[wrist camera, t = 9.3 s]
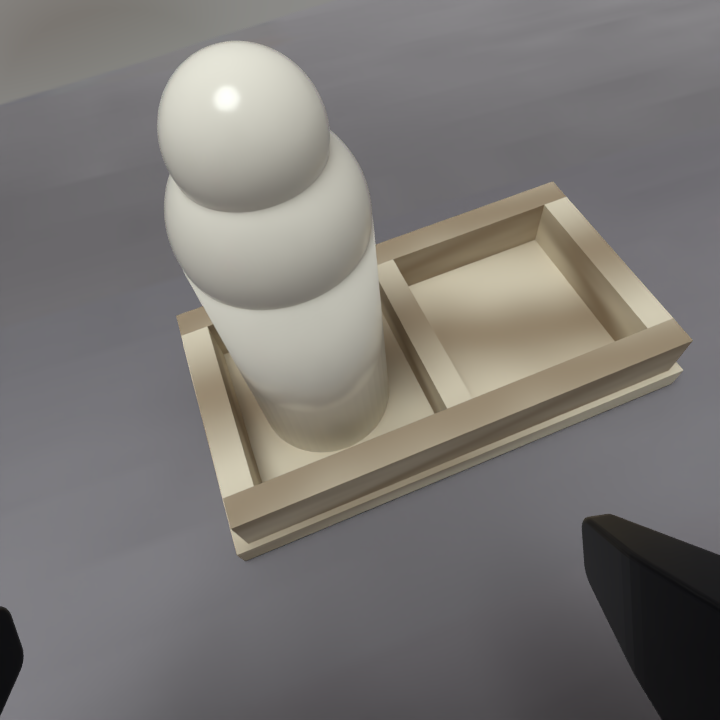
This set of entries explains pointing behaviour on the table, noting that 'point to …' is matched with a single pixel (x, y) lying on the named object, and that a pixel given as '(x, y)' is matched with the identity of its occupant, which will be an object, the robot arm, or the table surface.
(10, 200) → the table surface
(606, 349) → the divided wooden tray
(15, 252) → the table surface
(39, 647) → the table surface
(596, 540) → the robot arm
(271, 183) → the white pawn figure
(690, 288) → the table surface
